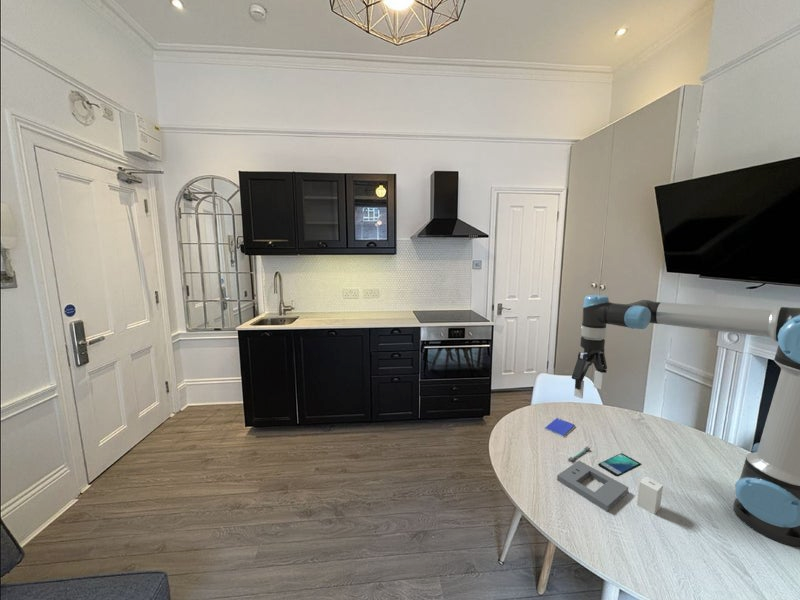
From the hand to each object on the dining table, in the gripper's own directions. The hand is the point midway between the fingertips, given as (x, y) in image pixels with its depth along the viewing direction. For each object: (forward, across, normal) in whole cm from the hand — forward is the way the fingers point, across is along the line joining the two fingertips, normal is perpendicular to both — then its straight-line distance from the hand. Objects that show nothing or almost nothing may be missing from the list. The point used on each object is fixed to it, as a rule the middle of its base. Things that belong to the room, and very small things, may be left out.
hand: (588, 392), depth 118 cm
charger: (+26, +8, +24) cm, 36 cm away
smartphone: (+27, -6, +10) cm, 29 cm away
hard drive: (+27, -11, -16) cm, 33 cm away
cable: (+26, +1, -1) cm, 26 cm away
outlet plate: (+26, +14, +10) cm, 31 cm away
